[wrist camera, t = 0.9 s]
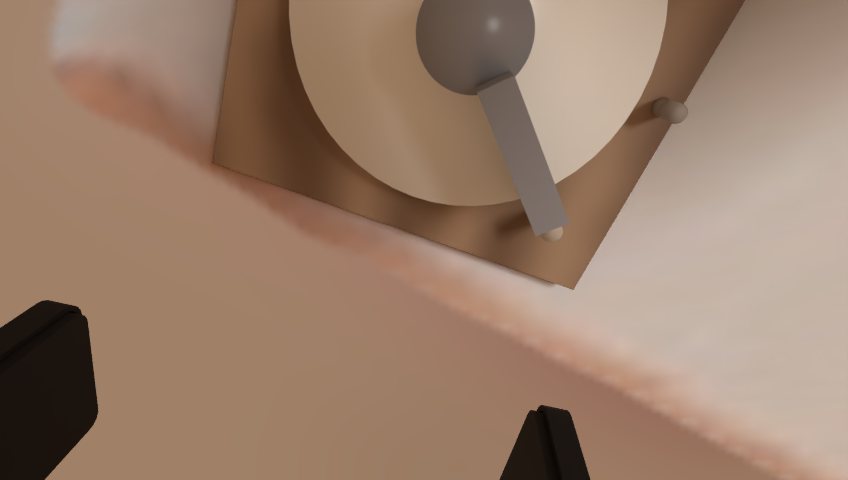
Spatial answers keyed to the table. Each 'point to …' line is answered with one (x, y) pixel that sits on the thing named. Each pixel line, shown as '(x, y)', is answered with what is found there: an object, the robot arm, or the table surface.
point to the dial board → (448, 224)
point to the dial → (476, 90)
